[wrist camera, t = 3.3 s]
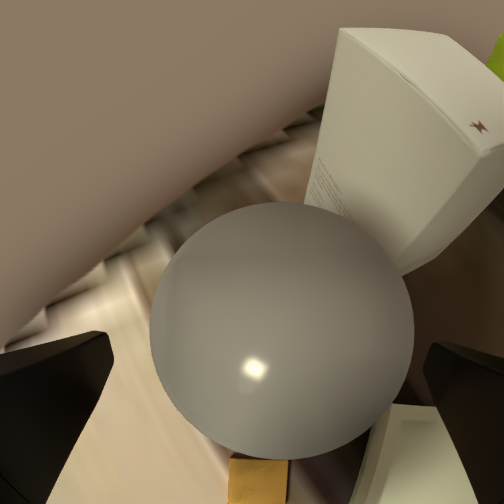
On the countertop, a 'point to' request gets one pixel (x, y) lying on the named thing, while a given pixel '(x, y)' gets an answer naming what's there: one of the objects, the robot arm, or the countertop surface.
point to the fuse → (281, 330)
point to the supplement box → (408, 140)
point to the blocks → (257, 481)
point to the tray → (411, 461)
